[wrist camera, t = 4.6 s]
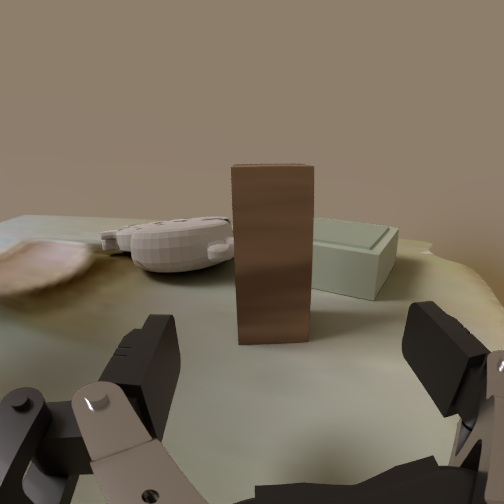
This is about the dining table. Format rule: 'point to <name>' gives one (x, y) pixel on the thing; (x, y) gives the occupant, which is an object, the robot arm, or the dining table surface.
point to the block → (273, 251)
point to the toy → (174, 243)
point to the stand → (352, 257)
